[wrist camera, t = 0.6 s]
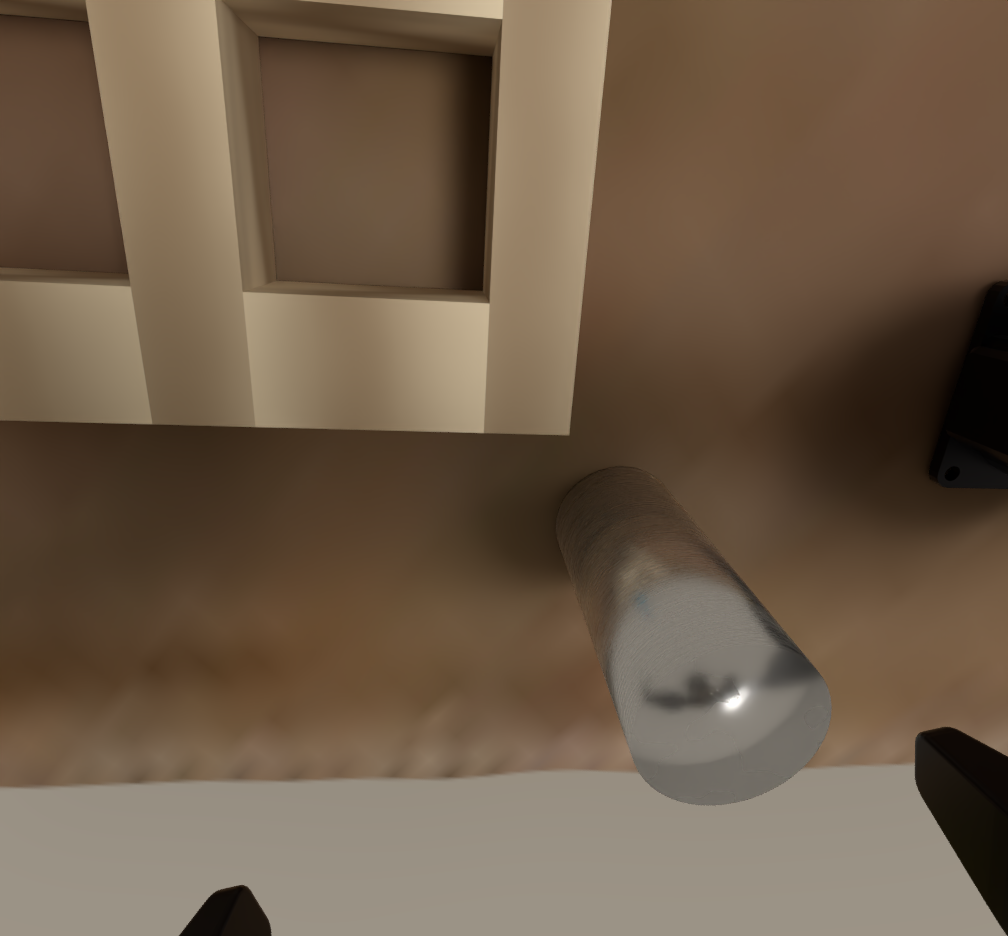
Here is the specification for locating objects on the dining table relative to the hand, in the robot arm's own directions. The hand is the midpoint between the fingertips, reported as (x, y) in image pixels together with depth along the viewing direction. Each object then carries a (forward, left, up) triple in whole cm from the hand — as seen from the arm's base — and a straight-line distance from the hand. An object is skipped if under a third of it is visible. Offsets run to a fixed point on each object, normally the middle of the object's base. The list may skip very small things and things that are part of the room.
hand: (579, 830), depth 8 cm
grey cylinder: (-4, +2, -12) cm, 13 cm away
